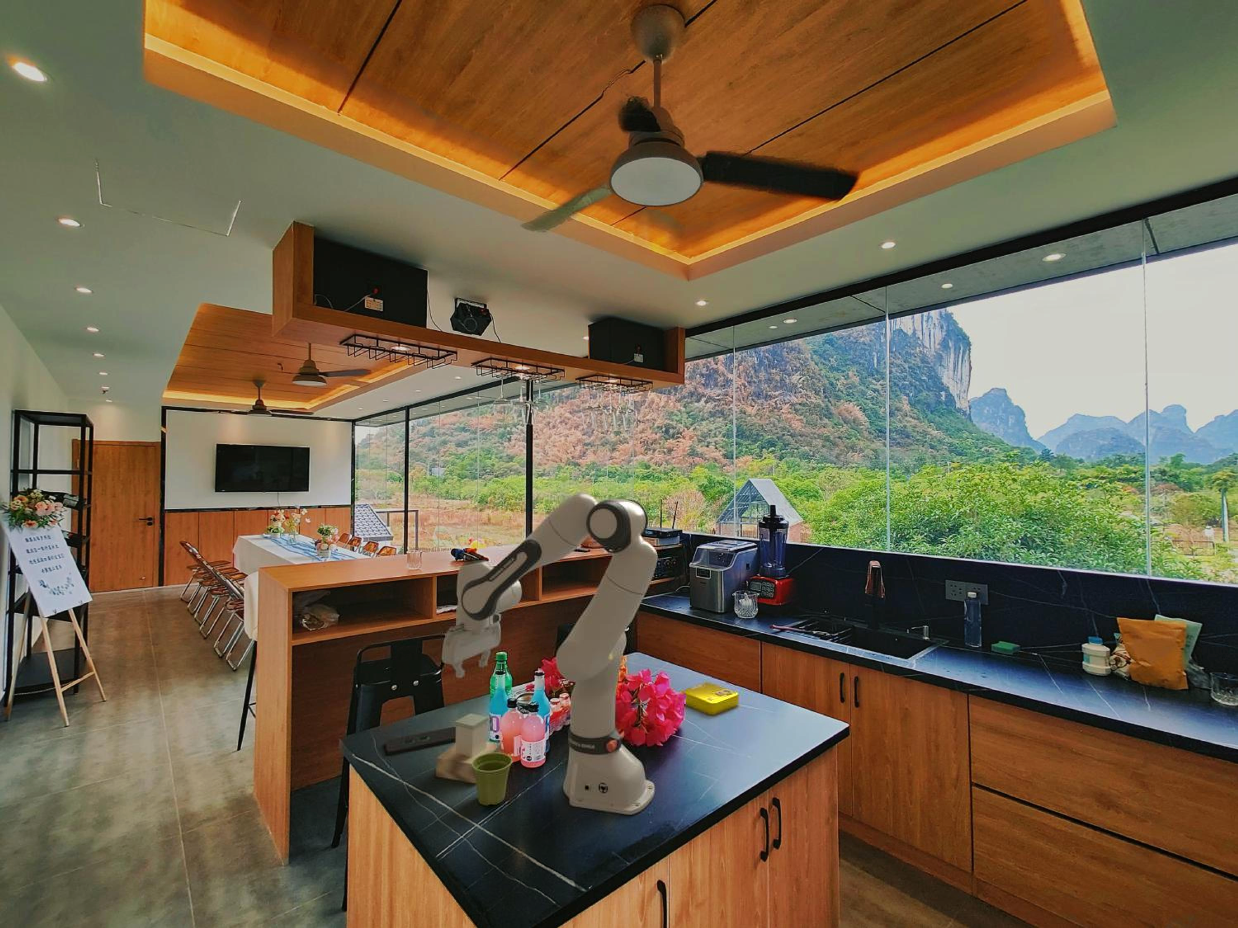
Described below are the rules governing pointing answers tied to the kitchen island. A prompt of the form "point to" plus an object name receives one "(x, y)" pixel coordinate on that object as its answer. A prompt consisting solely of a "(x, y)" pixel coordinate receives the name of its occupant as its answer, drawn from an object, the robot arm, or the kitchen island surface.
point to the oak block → (461, 763)
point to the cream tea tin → (471, 734)
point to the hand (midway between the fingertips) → (471, 671)
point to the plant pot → (491, 776)
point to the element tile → (711, 698)
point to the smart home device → (420, 741)
